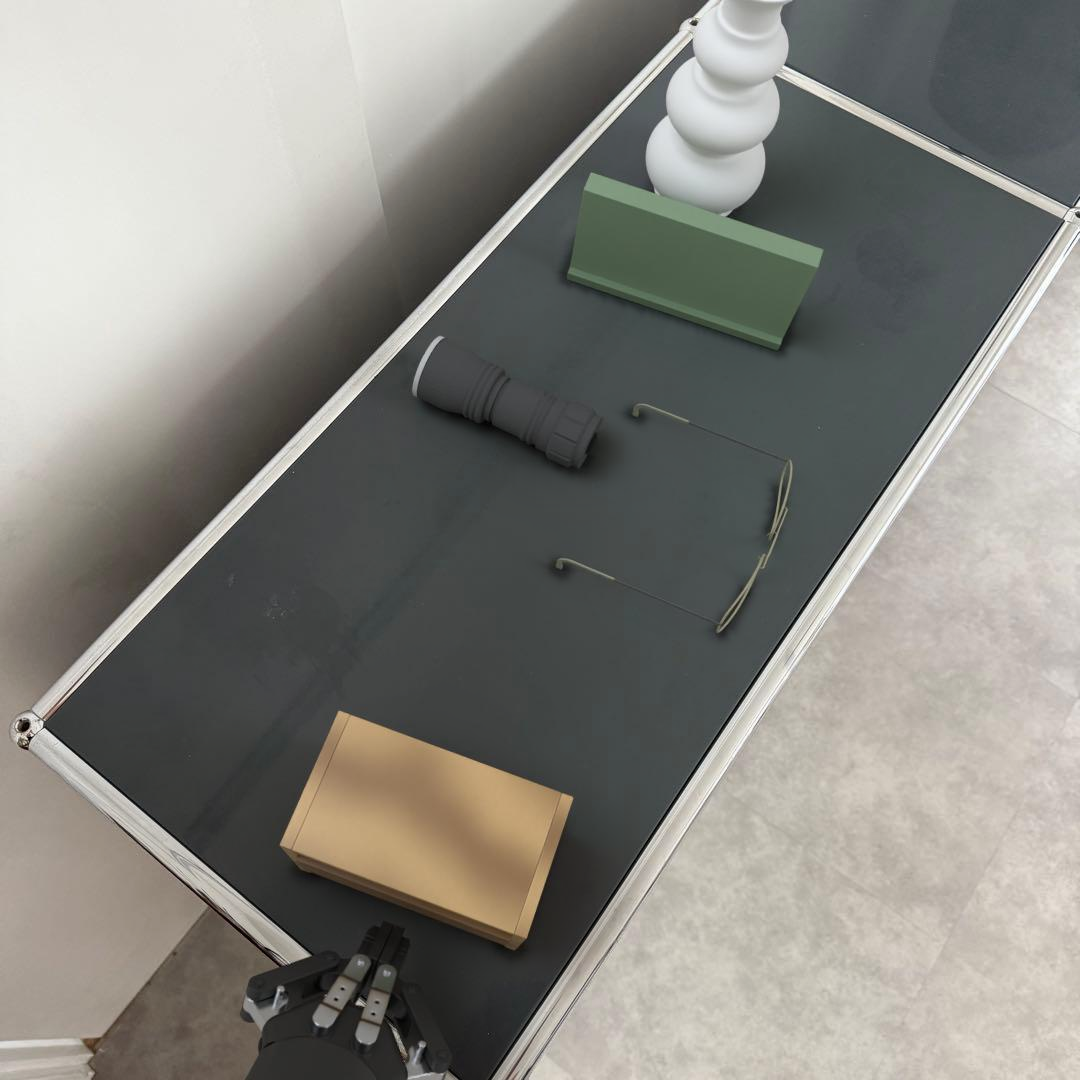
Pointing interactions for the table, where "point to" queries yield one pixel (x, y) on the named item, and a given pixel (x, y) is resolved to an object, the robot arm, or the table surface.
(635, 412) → the eyeglasses
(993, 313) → the table surface
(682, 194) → the vase
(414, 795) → the wooden drawer chest
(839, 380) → the table surface
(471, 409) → the flashlight
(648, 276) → the wall board
